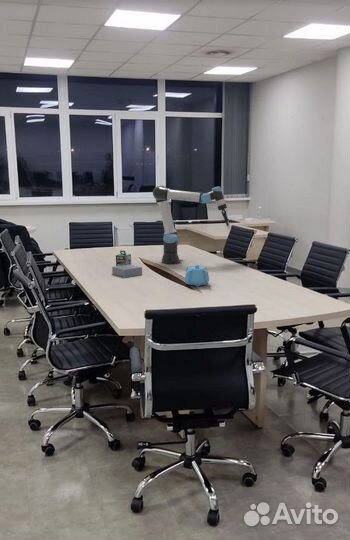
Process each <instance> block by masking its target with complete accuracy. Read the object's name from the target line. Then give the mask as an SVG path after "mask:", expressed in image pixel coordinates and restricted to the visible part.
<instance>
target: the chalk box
mask: <svg viewBox="0 0 350 540" xmlns="http://www.w3.org/2000/svg"><path fill="white" fill-rule="evenodd" d="M119 252H120V253H118V254H116V255H115V266H121V265H129V264H131V265H132V254H131V253H126V250H122V249H121V250H119Z"/></svg>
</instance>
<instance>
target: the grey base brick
mask: <svg viewBox="0 0 350 540" xmlns="http://www.w3.org/2000/svg"><path fill="white" fill-rule="evenodd" d="M111 270H112V271H111V274H112V275H114V276H117V277H122V278H130V277H137V276H142V275H143V267H142V266H138V265H135V264H132V263H131V264H129V265H121V266H116V265H114V266H112V267H111Z"/></svg>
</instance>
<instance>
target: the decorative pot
mask: <svg viewBox="0 0 350 540" xmlns="http://www.w3.org/2000/svg"><path fill="white" fill-rule="evenodd" d="M184 281H185V283H186V285H187V284H188V286H195V287H197V288H198V287H200V286H206V285H207V284H208V283H209V282H210V275H209V270H207V267H205V266H200V264H194V266H188V267H186V268H185V276H184Z"/></svg>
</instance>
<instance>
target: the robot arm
mask: <svg viewBox="0 0 350 540" xmlns="http://www.w3.org/2000/svg"><path fill="white" fill-rule="evenodd" d="M152 196H153V198H154V199H155V202H156V204H157V205H158V206H159V207H158V208H159V212H160V215H161V220H162V224H163V228H164V229H163V230H164V233H163V238H162V239H163V254H162V258H161V264H166V265H168V264H170V265H173V264H179V263H180V258H179V255H178V246H179V244H180V240H181V239H180V237H179V234H178V231H177V230H176V229H175V225H174V219H173V216H172V211H171V207H170V203H169V202H170V201H171V200H174V201H175V200H176V201H177V200H178V201H186V202H195V203H201V204H207V203H210V202H212V201H214V200H215V203H216V207H217V209H218V211H221V215H222V216H223V219H224V223H225V226H226V229H227V231H228V230H231V225H230V222H229V218H228V214H227V210H226V209H227V208H228V206H227V204H226V199H225V197H224V194H223V190H222V188H221V186H215V187H212V188H211V191H208V192H205V193H203V192H196V191H195V192H194V191H184V190H177V189H175V190H174V189H171V188H167V187H166V186H164V185H157V186H155V187H154V188H153V190H152Z"/></svg>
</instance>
